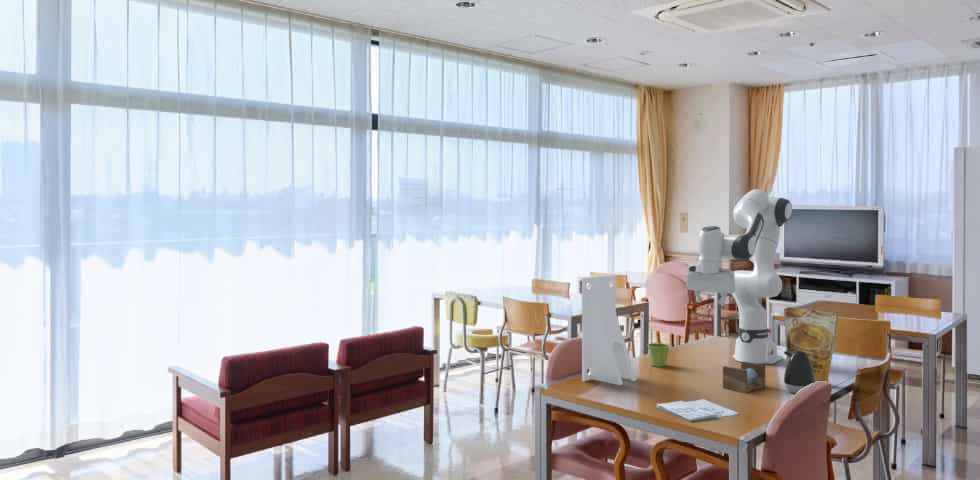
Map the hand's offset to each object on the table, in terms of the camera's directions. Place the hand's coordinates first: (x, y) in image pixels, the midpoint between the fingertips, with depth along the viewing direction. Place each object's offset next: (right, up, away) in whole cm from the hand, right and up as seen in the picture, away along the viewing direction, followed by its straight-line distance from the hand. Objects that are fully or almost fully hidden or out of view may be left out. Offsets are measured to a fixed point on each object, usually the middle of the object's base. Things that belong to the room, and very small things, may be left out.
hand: (710, 303), depth 279 cm
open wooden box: (+7, -30, -16) cm, 35 cm away
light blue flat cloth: (-18, -32, -47) cm, 59 cm away
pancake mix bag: (+34, -29, -10) cm, 46 cm away
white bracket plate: (-39, -30, -2) cm, 49 cm away
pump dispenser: (+24, -30, -24) cm, 46 cm away
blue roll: (+7, -29, -16) cm, 34 cm away
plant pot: (-15, -29, +22) cm, 39 cm away
